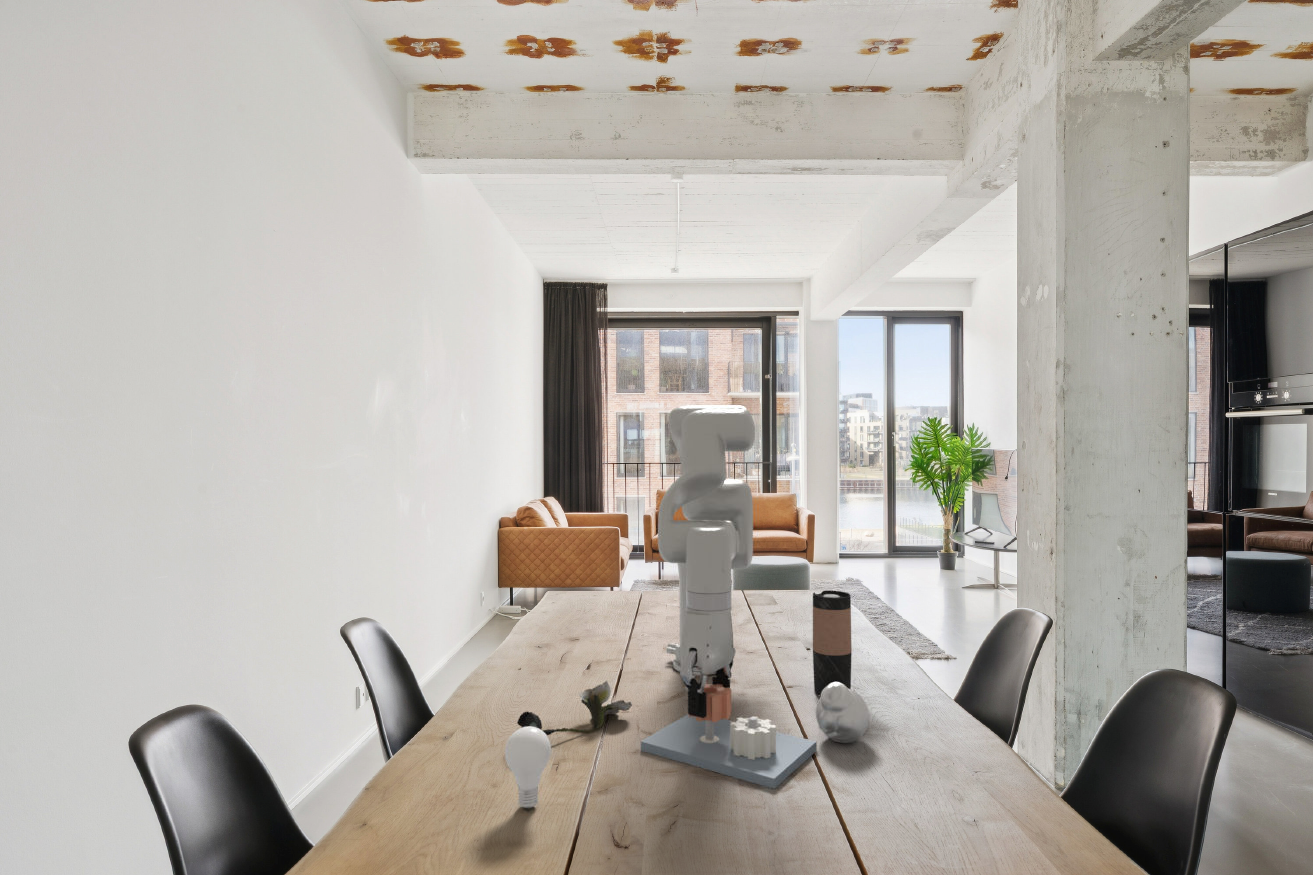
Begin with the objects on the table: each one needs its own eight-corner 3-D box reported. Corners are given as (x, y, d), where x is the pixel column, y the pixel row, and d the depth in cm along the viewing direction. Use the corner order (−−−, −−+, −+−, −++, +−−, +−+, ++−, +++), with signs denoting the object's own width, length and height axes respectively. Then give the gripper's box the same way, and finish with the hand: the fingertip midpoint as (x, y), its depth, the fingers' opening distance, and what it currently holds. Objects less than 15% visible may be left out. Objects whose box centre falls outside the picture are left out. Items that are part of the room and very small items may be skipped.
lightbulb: (507, 797, 104) (507, 720, 104) (552, 795, 104) (552, 718, 104) (502, 820, 97) (501, 737, 97) (549, 817, 98) (549, 735, 98)
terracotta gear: (680, 716, 119) (679, 691, 119) (702, 703, 125) (702, 680, 125) (717, 725, 115) (717, 700, 115) (738, 711, 121) (738, 687, 121)
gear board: (640, 750, 119) (640, 710, 119) (692, 719, 132) (691, 684, 133) (774, 788, 106) (774, 744, 106) (816, 750, 119) (816, 710, 119)
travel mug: (853, 700, 142) (852, 598, 142) (813, 698, 143) (812, 597, 144) (850, 687, 149) (849, 590, 150) (812, 685, 151) (812, 589, 151)
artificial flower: (507, 753, 122) (505, 691, 125) (613, 734, 136) (609, 679, 139) (535, 755, 115) (532, 689, 118) (643, 735, 130) (638, 676, 133)
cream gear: (728, 757, 113) (728, 731, 113) (733, 739, 120) (733, 714, 120) (774, 761, 111) (774, 735, 111) (776, 742, 118) (776, 718, 118)
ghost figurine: (802, 735, 125) (802, 677, 125) (848, 727, 129) (847, 670, 129) (834, 756, 117) (833, 693, 117) (881, 746, 120) (881, 686, 120)
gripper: (715, 590, 129) (716, 690, 129) (660, 607, 115) (661, 720, 115) (753, 594, 125) (753, 698, 125) (701, 613, 111) (701, 730, 111)
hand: (709, 707), depth 120 cm, fingers closed on terracotta gear, 7 cm apart
